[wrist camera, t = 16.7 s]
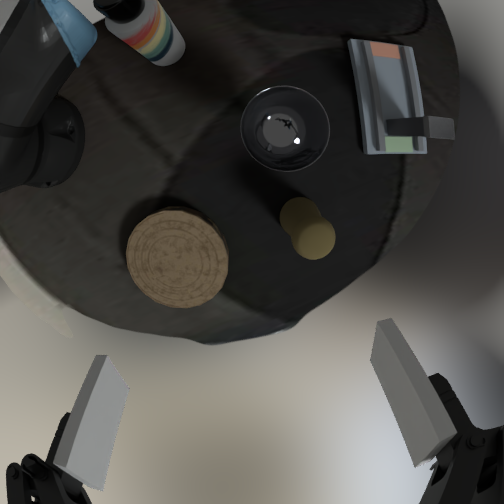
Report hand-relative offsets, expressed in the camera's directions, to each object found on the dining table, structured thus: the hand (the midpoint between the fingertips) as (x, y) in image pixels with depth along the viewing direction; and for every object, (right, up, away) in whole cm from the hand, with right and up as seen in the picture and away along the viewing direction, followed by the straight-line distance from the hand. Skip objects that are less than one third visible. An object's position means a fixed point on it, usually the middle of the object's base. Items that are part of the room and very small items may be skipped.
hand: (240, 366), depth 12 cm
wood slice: (-11, +5, +31) cm, 34 cm away
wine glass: (+3, +22, +25) cm, 33 cm away
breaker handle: (+22, +23, +22) cm, 39 cm away
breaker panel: (+21, +29, +22) cm, 42 cm away
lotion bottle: (-12, +34, +19) cm, 41 cm away
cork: (+8, +10, +29) cm, 32 cm away
